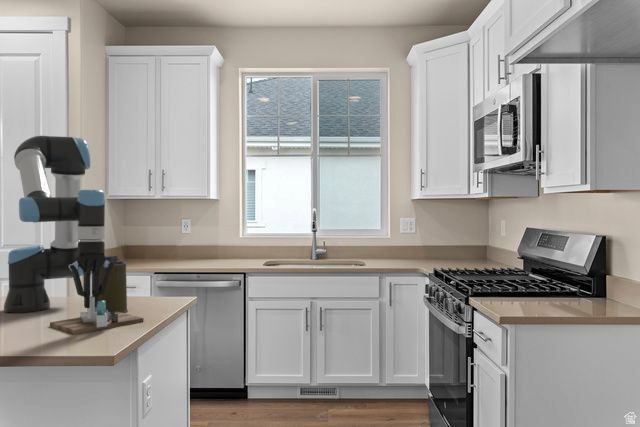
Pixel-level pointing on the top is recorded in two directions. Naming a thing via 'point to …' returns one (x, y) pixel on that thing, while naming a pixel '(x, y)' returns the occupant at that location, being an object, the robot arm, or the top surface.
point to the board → (79, 327)
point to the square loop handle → (98, 315)
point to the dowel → (114, 317)
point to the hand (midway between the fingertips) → (90, 318)
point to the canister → (115, 286)
